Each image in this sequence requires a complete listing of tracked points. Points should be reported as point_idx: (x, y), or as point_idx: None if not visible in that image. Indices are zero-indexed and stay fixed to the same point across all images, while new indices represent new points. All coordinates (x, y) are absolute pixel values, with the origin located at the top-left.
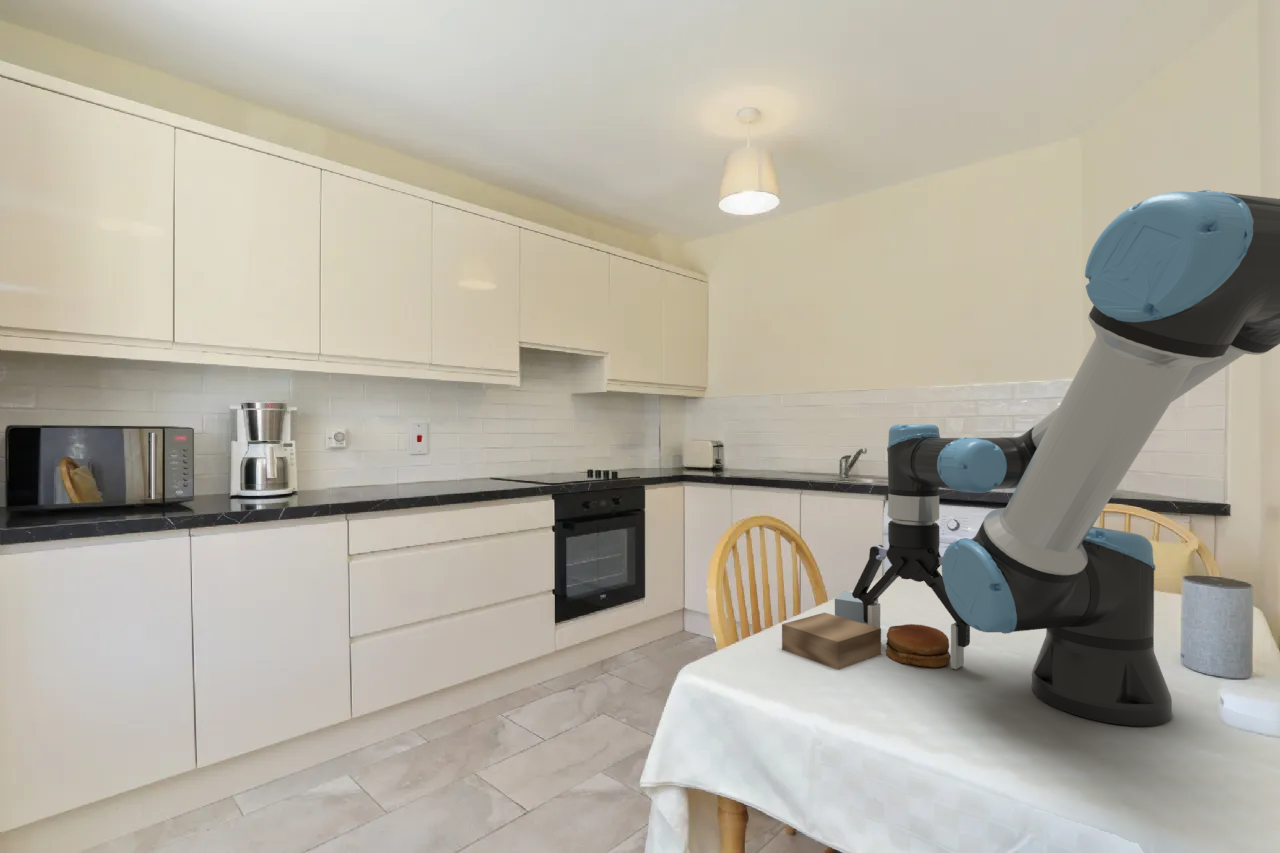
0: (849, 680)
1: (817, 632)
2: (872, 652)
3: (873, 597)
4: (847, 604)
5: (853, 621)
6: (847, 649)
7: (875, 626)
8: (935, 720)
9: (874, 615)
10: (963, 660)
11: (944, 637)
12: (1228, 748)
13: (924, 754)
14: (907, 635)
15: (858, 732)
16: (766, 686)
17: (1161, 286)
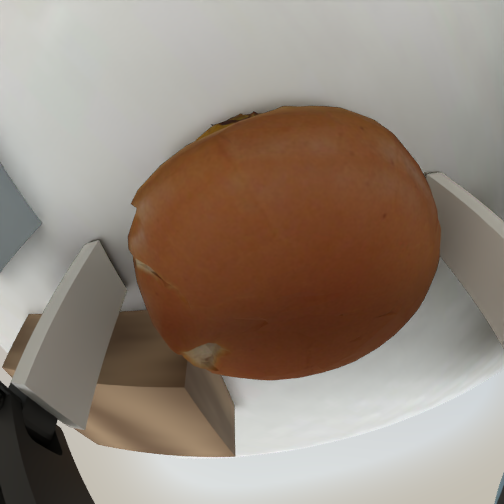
0: (282, 411)
1: (163, 451)
2: None
3: (77, 470)
4: None
5: None
6: (228, 426)
7: (91, 324)
8: (429, 385)
9: (82, 376)
10: (450, 180)
11: (436, 248)
12: None
13: (427, 410)
14: (311, 373)
15: (370, 431)
16: (235, 448)
17: None
